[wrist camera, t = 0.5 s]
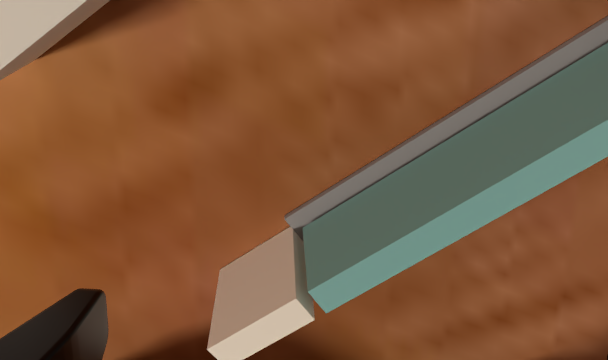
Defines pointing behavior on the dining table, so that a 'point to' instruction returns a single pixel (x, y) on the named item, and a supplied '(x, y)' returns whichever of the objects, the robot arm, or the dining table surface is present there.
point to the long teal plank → (461, 184)
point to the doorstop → (37, 27)
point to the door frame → (289, 243)
